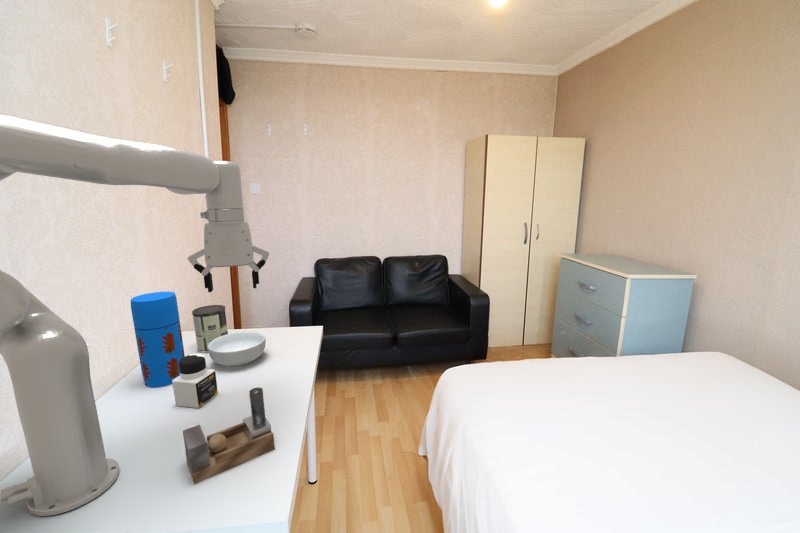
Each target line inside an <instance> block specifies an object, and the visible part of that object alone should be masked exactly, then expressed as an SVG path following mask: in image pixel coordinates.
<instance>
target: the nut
mask: <svg viewBox="0 0 800 533" xmlns="http://www.w3.org/2000/svg"><path fill="white" fill-rule="evenodd" d="M226 444H227V439H226V437H225V436H224V435H222V434H216V435H214V436H212V437H211V438H210V440H209V442H208V449H209V450H210V451H211V452H213V453H218V452H221V451H222V450H223V449H224V448H225V447H226Z"/></svg>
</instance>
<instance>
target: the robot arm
mask: <svg viewBox="0 0 800 533" xmlns="http://www.w3.org/2000/svg"><path fill="white" fill-rule="evenodd" d="M16 173H22V174H28V175H36V176H42V177H51V178H58V179H64V180H70V181H79V182H84V183H91V184H96V185H107V186H108V185H109V186H147V187H157V188H165V189H167V190H168V191H169V192H171V193H174V194H177V195H183V196H184V195H202V194H203V195H204V194H205V199H206V211H202V212H200V214H199V215H200V218H201V219H205V220H207V221H208V222H207V223H204V228H203V248H202V249H200V250H199V251H196V252H195V253H193V254H190V255H189V256H188V257H187V260H188V262H189V263H190V265H191V266H192V267H193V269H194V270H196V271H197V272H199V274H201V275H202V276H203V281H204V282H203V283H204V289H207V292H208V293H212V292H213V290H214V283H213V274H212V273H211V270H212V269H213V268H228V267H229V268H230V267H242V266H248V267H249V268H251V269H252V270H251V277H252V288H253V289H257V285H260V275H259V271H260V270H261V269H262V267H264V266H265V264H266V262H267V260H268V258H269V256H270V252H269V251H267V250H265V249H263V248H260V247H257V246H255V245H253V239H252V235H251V229H250V225H249V223H248V221H245V214H244V213H245V212H244V201H243V200H244V199H243V190H242V187H243V186H242V177H241V176H242V175H241V169H240V166H239V165H238V163H236V162H235V161H229V160H211V159H210V158H208V157H206V156H204V155H202V154H199V153H195V152H190V151H187V150H182V149H178V148H174V147H169V146H164V145H159V144H153V143H147V142H142V141H141V142H140V141H134V140H129V139H124V138H119V137H113V136H108V135H107V136H106V135H102V134H97V133H92V132H89V131H83V130H78V129H74V128H70V127H66V126H61V125H57V124H53V123H48V122H46V121H45V122H44V121H42V120H41V121H40V120H36V119H32V118H27V117H24V116H19V115H14V114H10V113H9V114H8V113H4V112H0V182H1V181H3V180H4V179H6V178H8V177H10V176H12V175H14V174H16ZM254 254H258V255H260V256H261V259H260V260H259V261H258V262H257V263H256V262H255V261H254ZM202 256H204V262H205V266H203V265H202V264H201V263H200V262H199V261H198V259H199V258H201V257H202ZM81 334H82V333H80V332H79V331H78V330H77V329H76V328H75V327H73V326H72V325H71V324H69V323H68V322H66V321H65V320H63V319H62V318H61V317H60V316H58V314H56V313H55V312H54V311H53V310H51V309H50V307H49V306H46V304H45V303H43V302H42V301H41V300H40V299H39V298H38V297H36V296H35V295H34V294H33V293H32V292H30V291H29V289H27V288H26V287H25V286H24V285H23V284H22V283H21V282H20V280H18V279H16V278H15V277H13V276H12V275H11V274H9V273H7V272H5V271H3V270H1V269H0V355H1V357H2V358H3V360H4V362H5V364H6V366H7V370H8V373H9V376H10V380H11V384H12V389H13V393H14V398H15V403H16V408H17V412H18V417H19V420H20V425H21V428H22V432H23V436H24V440H25V443H26V448H27V453H28V456H29V461H30V464H31V468H32V473H33V476H32V477H29V478H26V481H24V482H21V483H18V484H14V485H12V486H8V487H6V488H5V487H4V488H2V489H1V490H0V501H1V502H5V501H7V505H8V506H13V505H15V504H17V503H20V502H22V501H25V500H27V501H26V505H27V508H28V511H29V513H31V514H32V515H35V516H42V517H46V516H54V515H59V514H64V513H65V512H69V511H72V510H74V509H77V508H80V507H81V506H84V505H86V504H87V503H89V502H91V501H92V500H94V499H96V498H97V497H99V496H100V495H102V494H103V493H104V492H105V491H107V490H108V489H109V488H110V487H111V486H112V485H113V484H114V483H115V481H116V480H117V478H118V477H119V474H120V467H119V466H120V465H119V463H118V461H116V459H115V460H114V459H113V458H107V455H106V451H105V446H104V440H103V434H102V430H101V425H100V421H99V415H98V410H97V409H98V408H97V405H96V400H95V396H94V390H93V385H92V378H91V369H90V366H91V365H90V354H89V349H88V345H87V342H86V340H85V339H84V338H83V336H82V335H81Z"/></svg>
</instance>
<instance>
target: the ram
mask: <svg viewBox="0 0 800 533" xmlns="http://www.w3.org/2000/svg"><path fill="white" fill-rule="evenodd" d="M248 393H249V400H250V411H251V412H250V413H251V415H250V416H248V417H245V418H243V419H242V423H243V424H244V431H245V433H246V435H247V436H248V438H249V440H253V439H255V438H258V437H260V436H263V435H265V434H267V433H270V432H273V430H272V423H270V421H269V420H268V418H267V417H266V411H265V410H266V409H265V401H264V390H263V388H262V387H260V386H259V387H254V388H251V389H250V390H249V392H248Z"/></svg>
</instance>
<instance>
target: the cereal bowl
mask: <svg viewBox="0 0 800 533" xmlns="http://www.w3.org/2000/svg"><path fill="white" fill-rule="evenodd" d="M265 348H266V336H265V335H264V334H263V333H261V332H257V331H256V332H255V331H239V332H232V333H228V334H227V335H223V336H221V337H218V338H216V339H214V340H213V341H211V342H210V343H209V344H208V352H209V353H208V355H209V357H210V359H211V360H212V361H213V362H214V363H216V364H219V365H221V366H227V367H241V366H245V365H247V364H250V363H251V362H253V361H254V360H256V359H258V358H259V357H260V356H261V355H262V354H263V352H264V351H265Z"/></svg>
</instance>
